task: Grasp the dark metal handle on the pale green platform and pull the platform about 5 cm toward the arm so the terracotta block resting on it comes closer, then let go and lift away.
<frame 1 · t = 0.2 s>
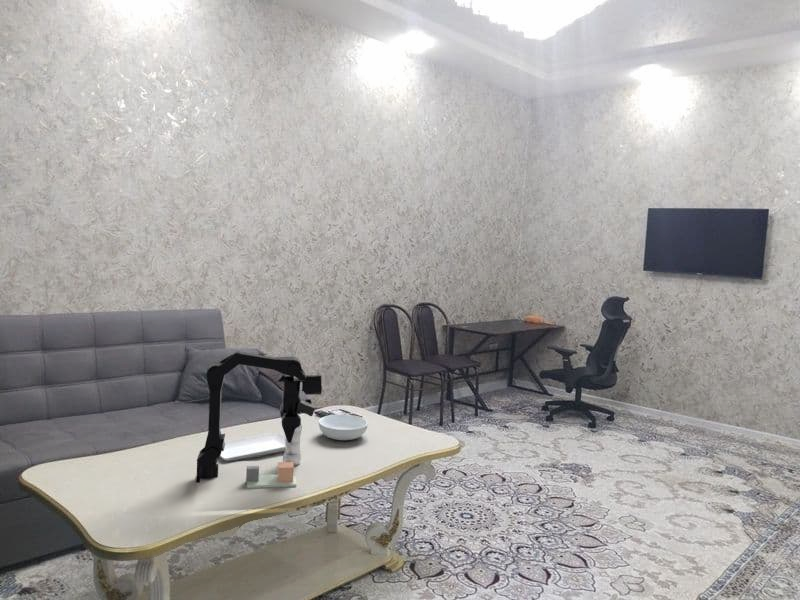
hand: (288, 438, 211), 14 cm above the table, fingers open, 9 cm apart
terracotta block: (285, 479, 206), point 2 cm above the table, touching pale green platform
tray: (252, 453, 236), on the table
pale green platform: (271, 474, 205), point 4 cm above the table, slide at 0.0 cm, touching terracotta block
plastic bottle: (291, 466, 223), on the table
serving bowl: (342, 437, 260), on the table
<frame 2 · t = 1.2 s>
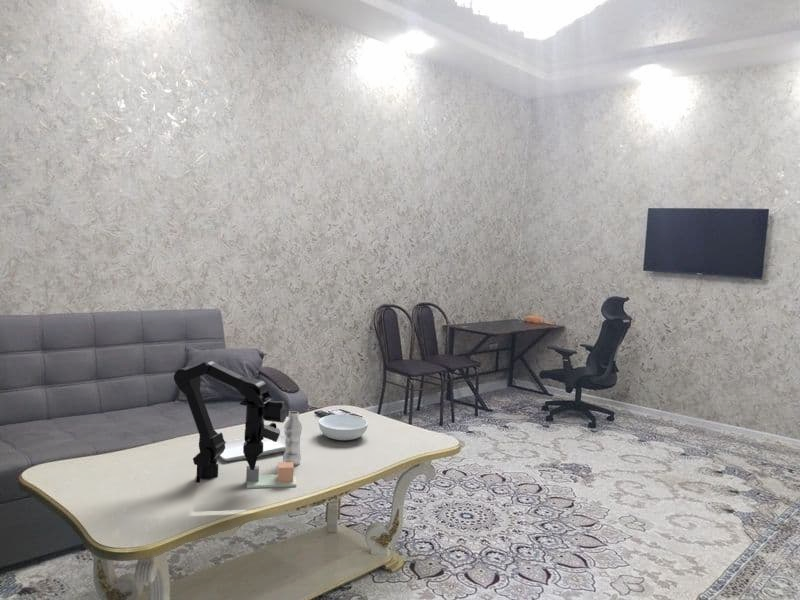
hand: (252, 464, 203), 7 cm above the table, fingers open, 9 cm apart
nothing on the table moved.
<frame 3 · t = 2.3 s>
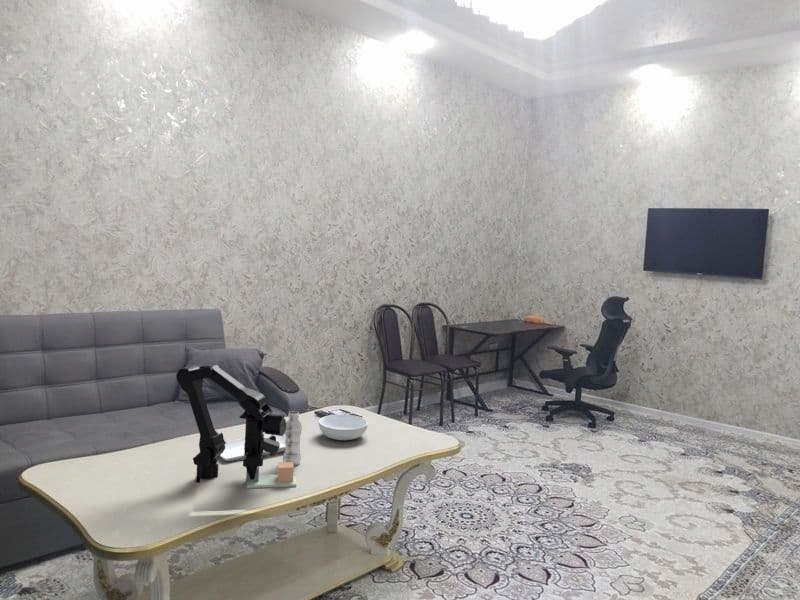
hand: (252, 477, 203), 3 cm above the table, fingers closed on pale green platform, 2 cm apart
pale green platform: (271, 474, 205), point 4 cm above the table, slide at 0.0 cm, touching gripper, terracotta block
everything else where it was.
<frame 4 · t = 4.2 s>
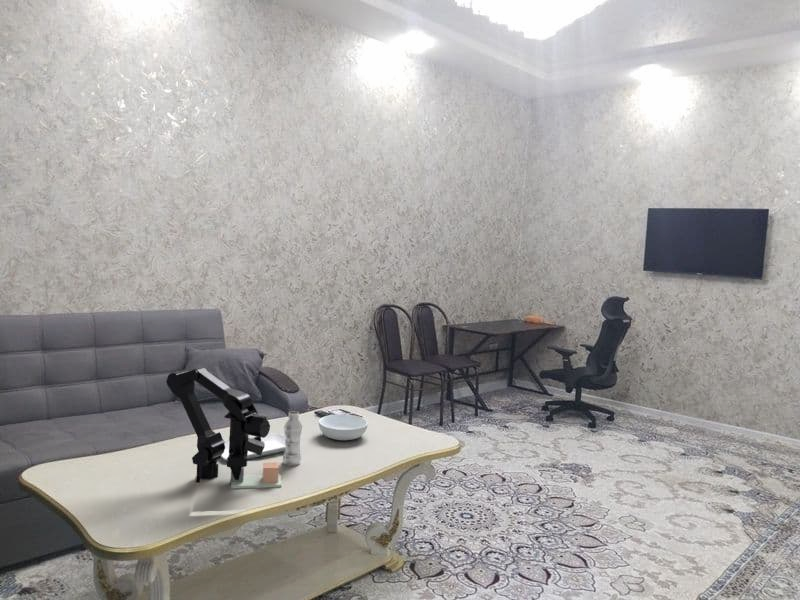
hand: (237, 478, 202), 3 cm above the table, fingers closed on pale green platform, 2 cm apart
terracotta block: (270, 479, 205), point 2 cm above the table, touching pale green platform
pale green platform: (256, 474, 204), point 4 cm above the table, slide at 4.9 cm, touching gripper, terracotta block
everything else where it was.
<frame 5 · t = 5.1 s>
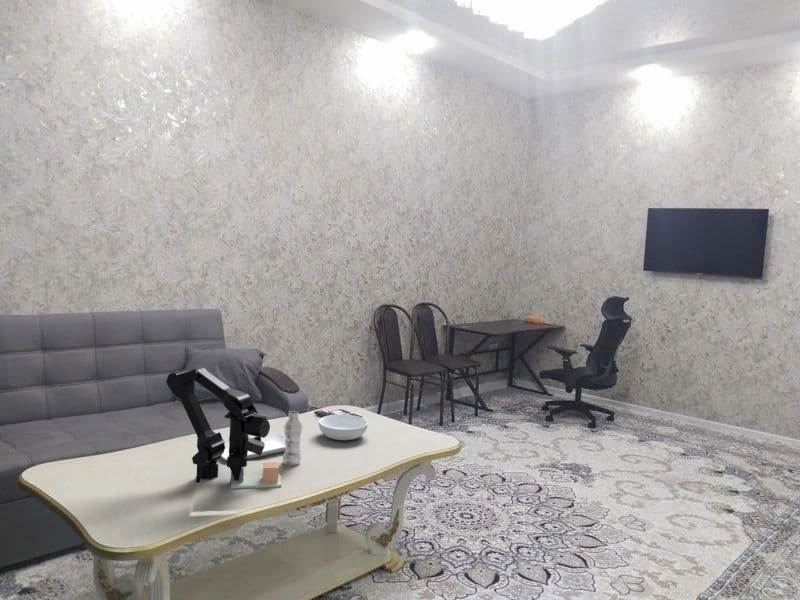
hand: (237, 478, 202), 3 cm above the table, fingers open, 4 cm apart
pale green platform: (256, 474, 204), point 4 cm above the table, slide at 4.9 cm, touching terracotta block
everything else where it was.
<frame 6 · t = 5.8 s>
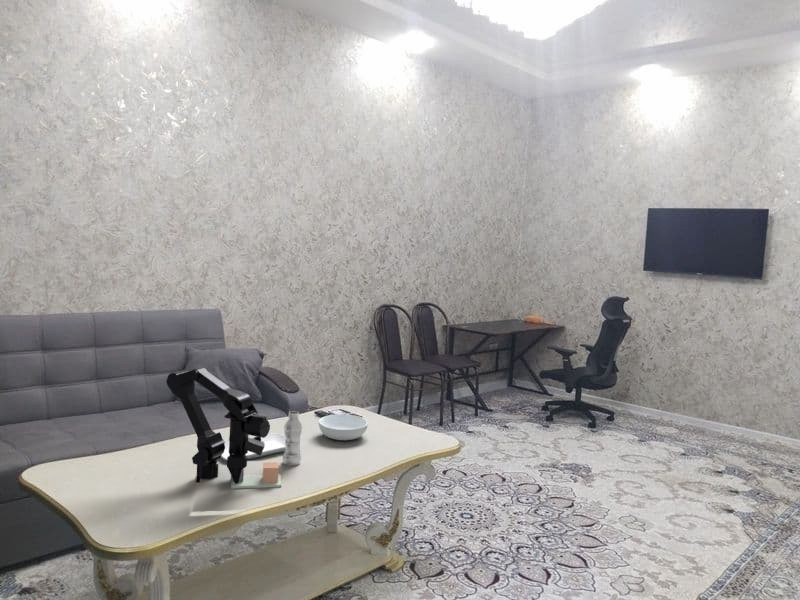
hand: (237, 478, 202), 3 cm above the table, fingers open, 9 cm apart
nothing on the table moved.
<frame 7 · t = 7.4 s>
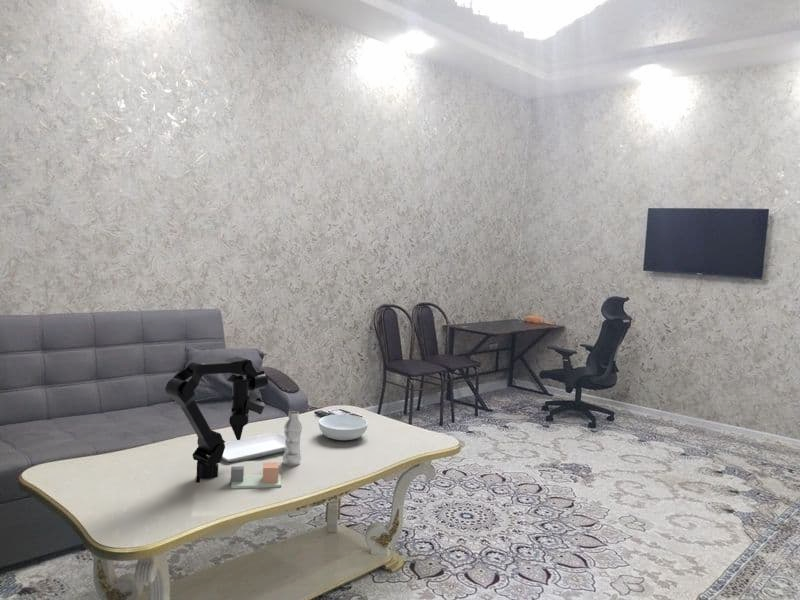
hand: (239, 435, 217), 12 cm above the table, fingers open, 9 cm apart
nothing on the table moved.
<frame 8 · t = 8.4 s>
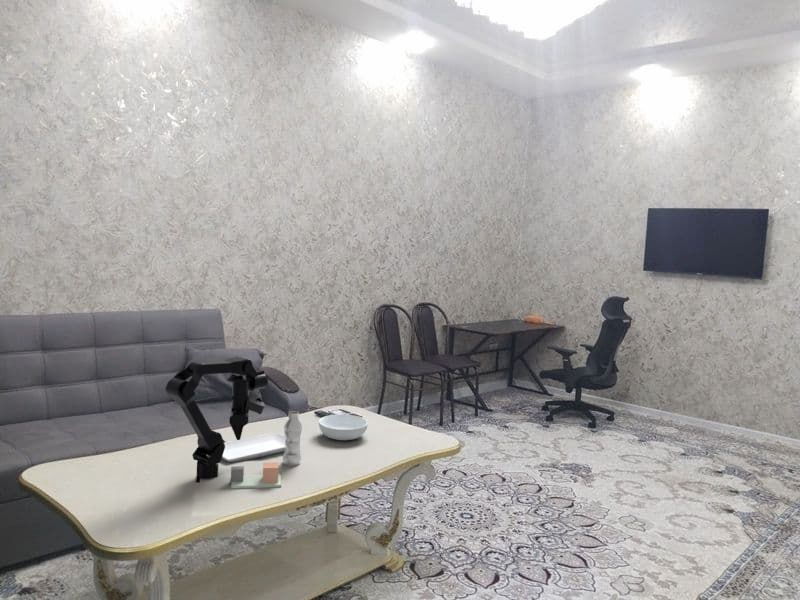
hand: (238, 435, 217), 12 cm above the table, fingers open, 9 cm apart
nothing on the table moved.
at the end: pale green platform slide at 4.9 cm; terracotta block 0.1 cm from the target spot, point 1.9 cm above the table; terracotta block tilted 0° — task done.
